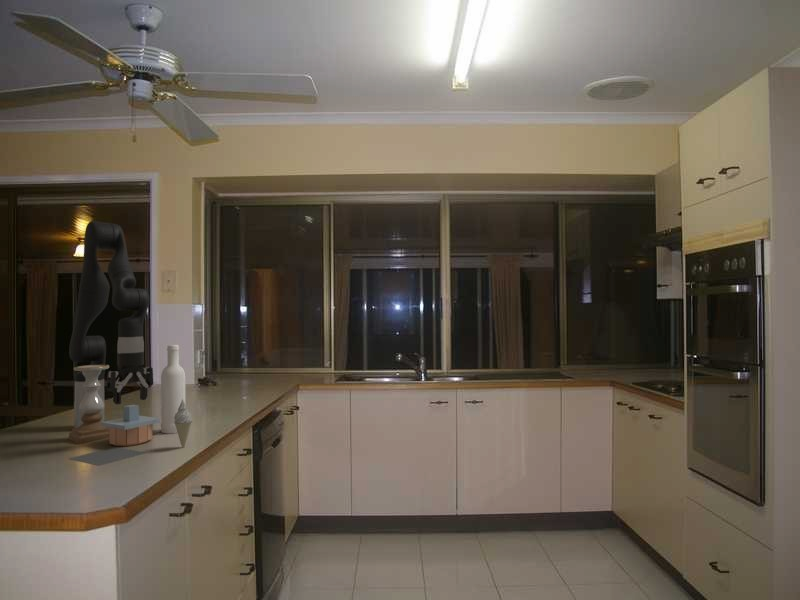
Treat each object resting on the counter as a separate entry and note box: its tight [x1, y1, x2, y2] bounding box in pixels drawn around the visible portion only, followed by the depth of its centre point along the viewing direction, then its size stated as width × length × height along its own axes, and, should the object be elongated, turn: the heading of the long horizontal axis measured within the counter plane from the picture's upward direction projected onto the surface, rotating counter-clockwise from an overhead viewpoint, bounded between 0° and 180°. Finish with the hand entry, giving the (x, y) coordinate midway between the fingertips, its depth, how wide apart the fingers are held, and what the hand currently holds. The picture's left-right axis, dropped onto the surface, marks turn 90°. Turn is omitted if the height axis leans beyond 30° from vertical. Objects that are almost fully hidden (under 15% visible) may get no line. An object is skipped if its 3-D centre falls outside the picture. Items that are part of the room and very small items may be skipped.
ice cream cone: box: [174, 399, 193, 448], centre depth 157 cm, size 5×5×15 cm
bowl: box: [108, 424, 153, 447], centre depth 165 cm, size 12×12×6 cm
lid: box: [101, 404, 161, 430], centre depth 165 cm, size 12×12×6 cm
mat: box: [67, 446, 146, 467], centre depth 149 cm, size 15×14×1 cm
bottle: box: [160, 344, 187, 435], centre depth 181 cm, size 8×8×30 cm
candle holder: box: [68, 364, 110, 445], centre depth 172 cm, size 11×11×24 cm
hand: (130, 401), depth 165 cm, fingers open, 8 cm apart
